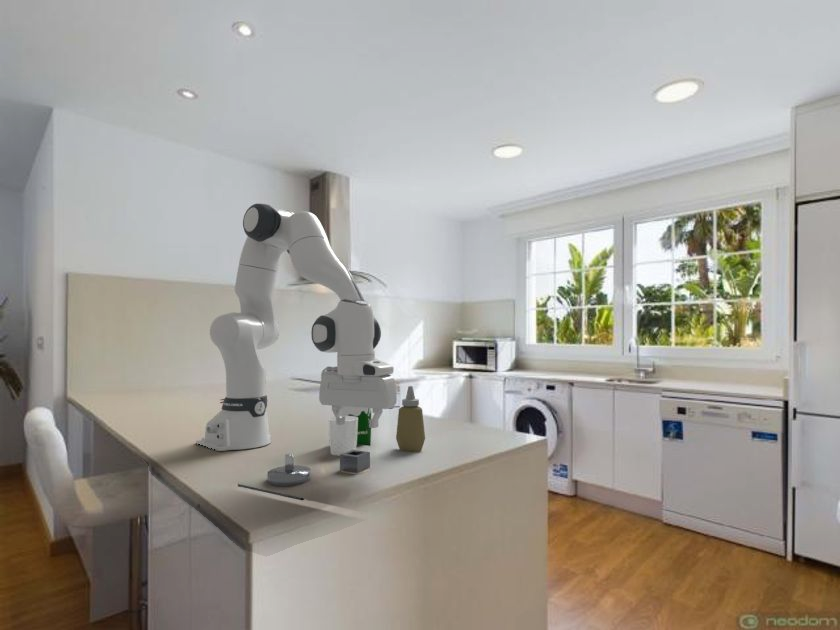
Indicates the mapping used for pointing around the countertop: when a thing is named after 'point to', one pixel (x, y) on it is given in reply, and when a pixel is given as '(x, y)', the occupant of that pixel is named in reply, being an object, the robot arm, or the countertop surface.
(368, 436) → the milk carton
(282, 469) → the grey plate with knob
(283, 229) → the robot arm
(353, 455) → the square hollow frame
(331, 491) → the countertop surface
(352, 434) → the white cup
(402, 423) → the squeeze bottle
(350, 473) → the stand
